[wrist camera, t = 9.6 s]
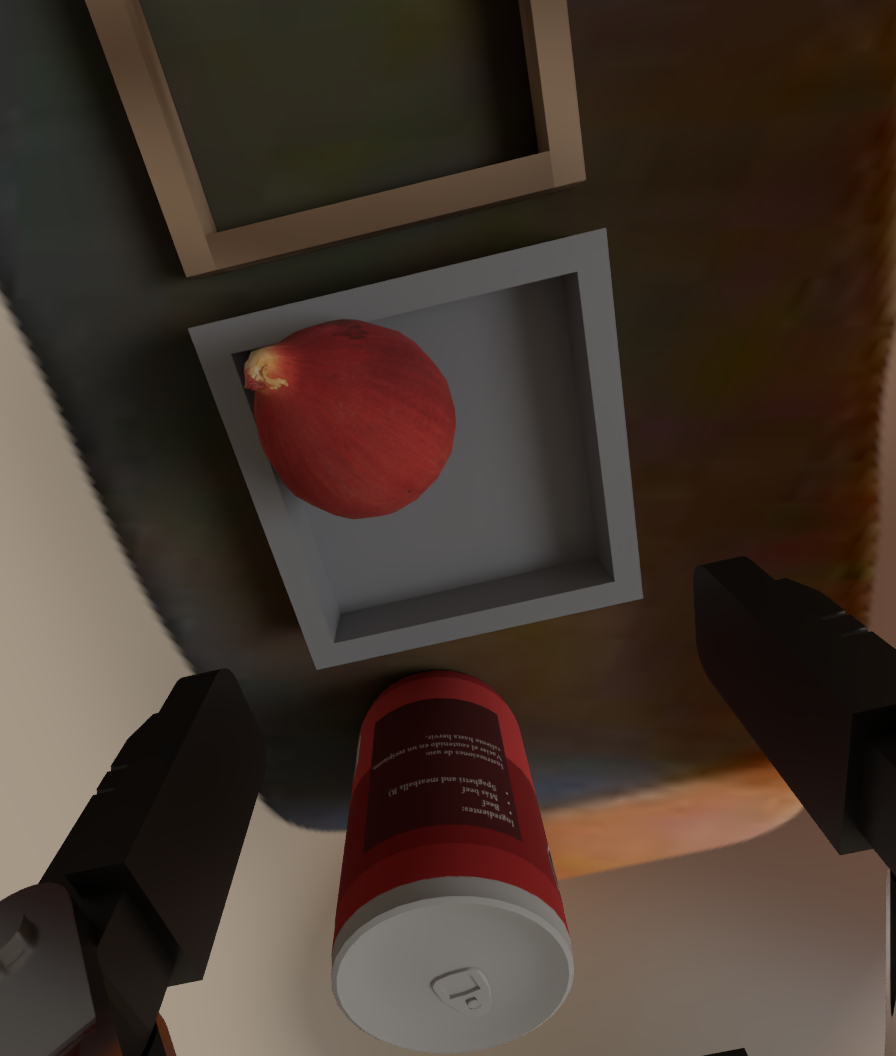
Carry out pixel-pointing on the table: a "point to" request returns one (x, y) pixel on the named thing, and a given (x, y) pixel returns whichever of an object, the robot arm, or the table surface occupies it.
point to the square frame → (352, 219)
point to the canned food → (446, 876)
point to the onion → (352, 416)
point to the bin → (462, 457)
